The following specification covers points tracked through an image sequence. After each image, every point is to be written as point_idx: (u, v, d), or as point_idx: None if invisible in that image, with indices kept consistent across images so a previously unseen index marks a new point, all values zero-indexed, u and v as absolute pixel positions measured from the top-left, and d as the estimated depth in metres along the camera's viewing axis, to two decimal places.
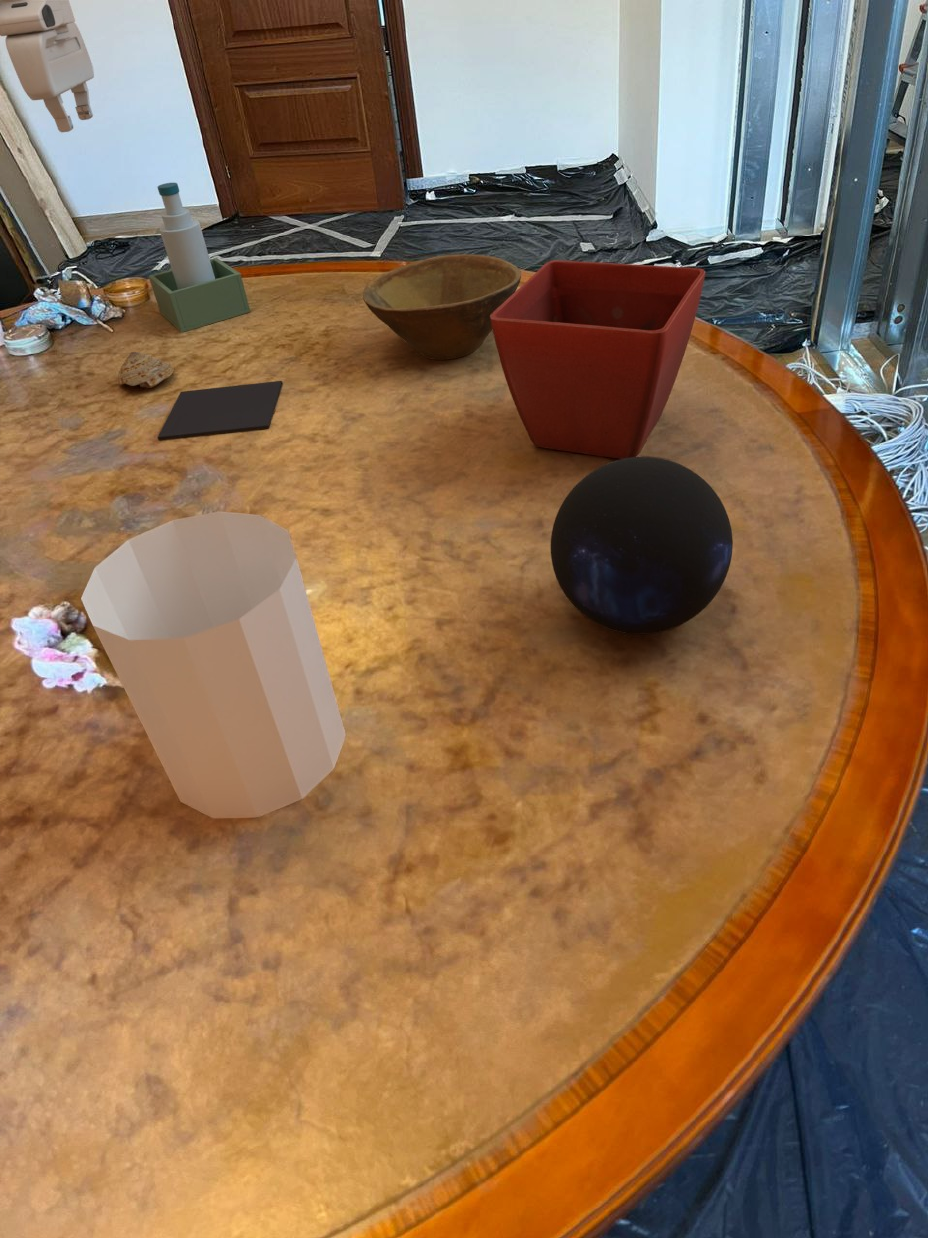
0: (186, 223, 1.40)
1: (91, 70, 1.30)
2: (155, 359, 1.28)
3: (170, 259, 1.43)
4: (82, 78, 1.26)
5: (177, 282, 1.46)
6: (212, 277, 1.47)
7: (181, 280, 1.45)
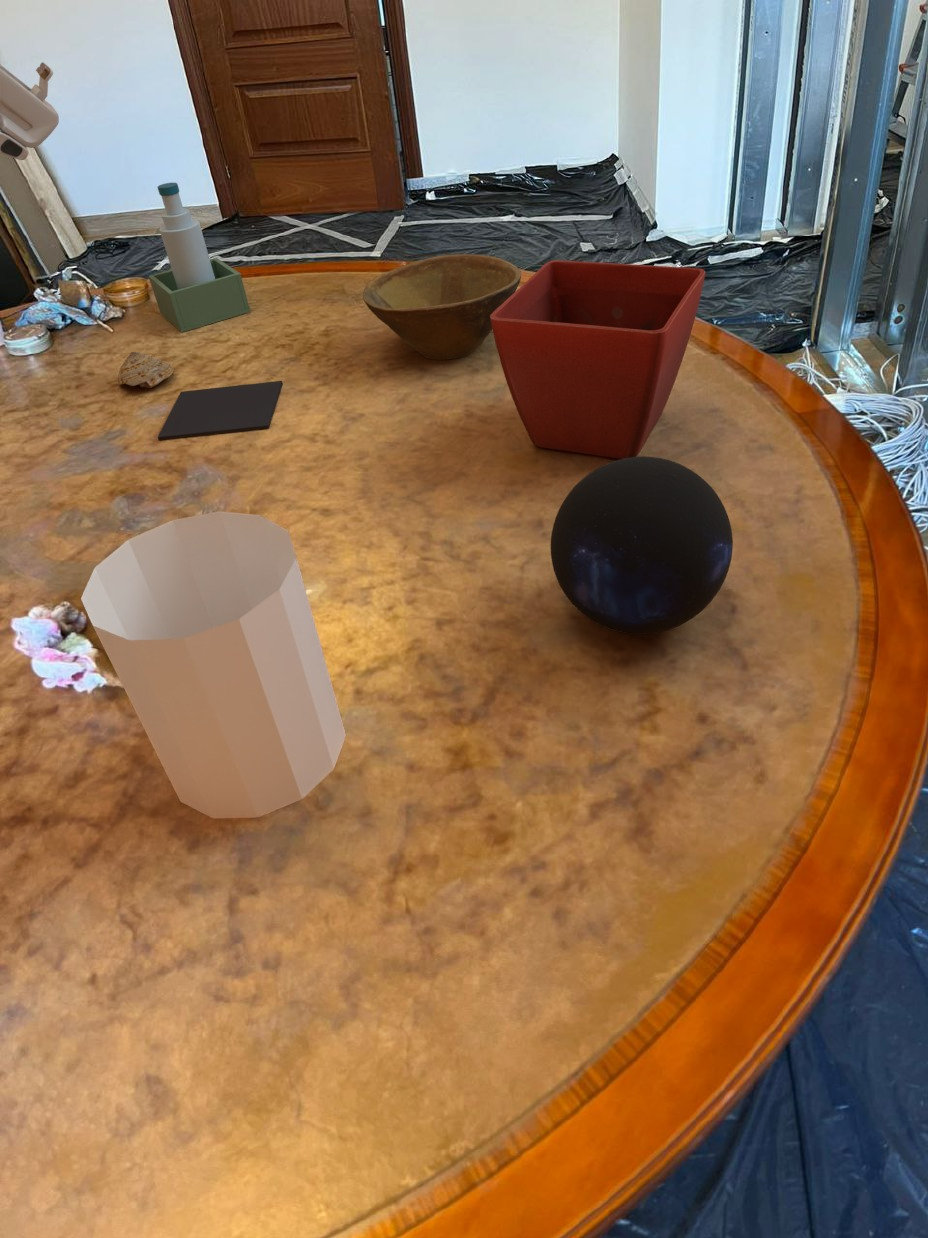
0: (186, 223, 1.40)
1: None
2: (155, 359, 1.28)
3: (170, 259, 1.43)
4: None
5: (177, 282, 1.46)
6: (212, 277, 1.47)
7: (181, 280, 1.45)
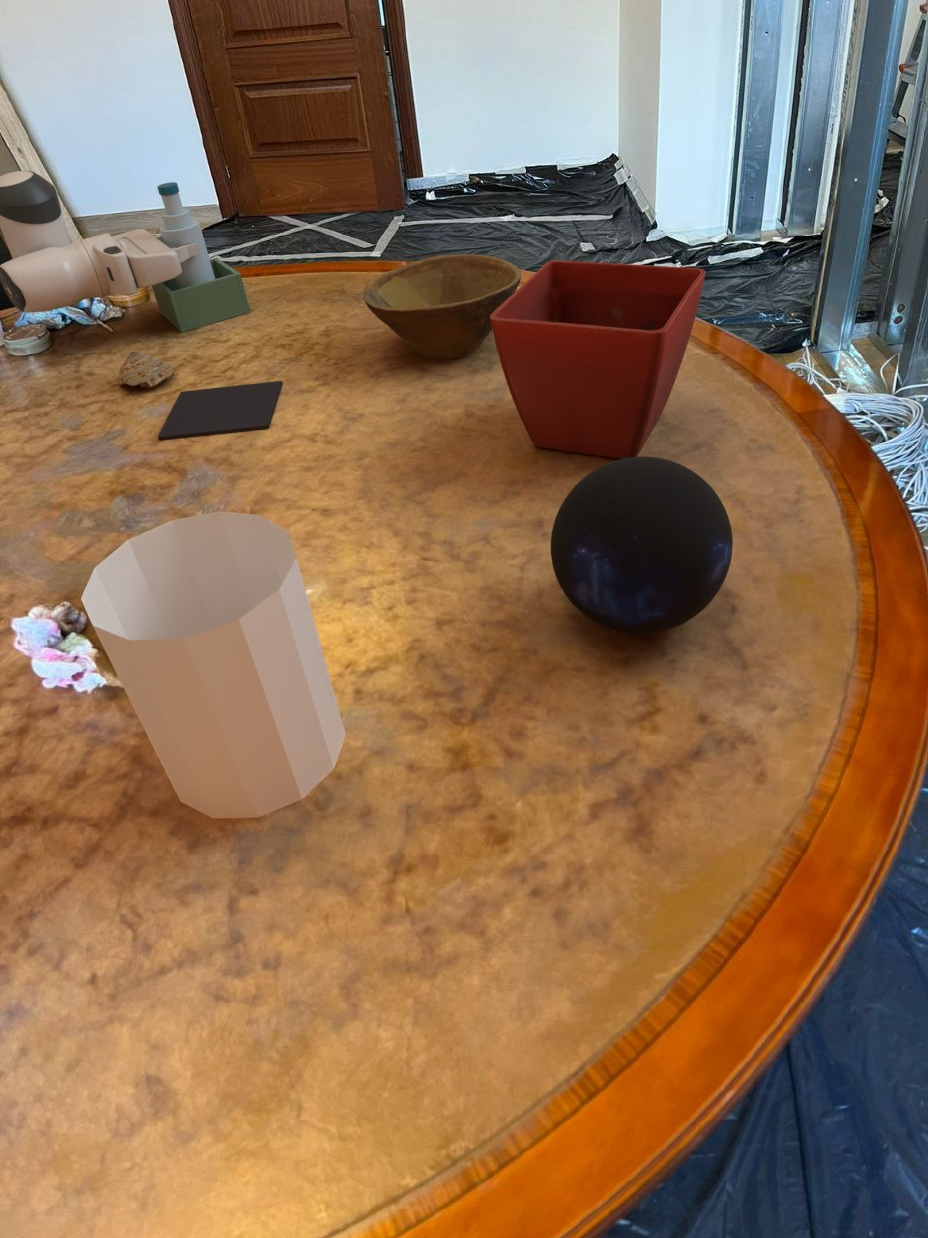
0: (186, 223, 1.40)
1: (140, 230, 1.47)
2: (155, 359, 1.28)
3: None
4: (150, 235, 1.44)
5: (177, 282, 1.46)
6: (212, 277, 1.47)
7: (181, 280, 1.45)
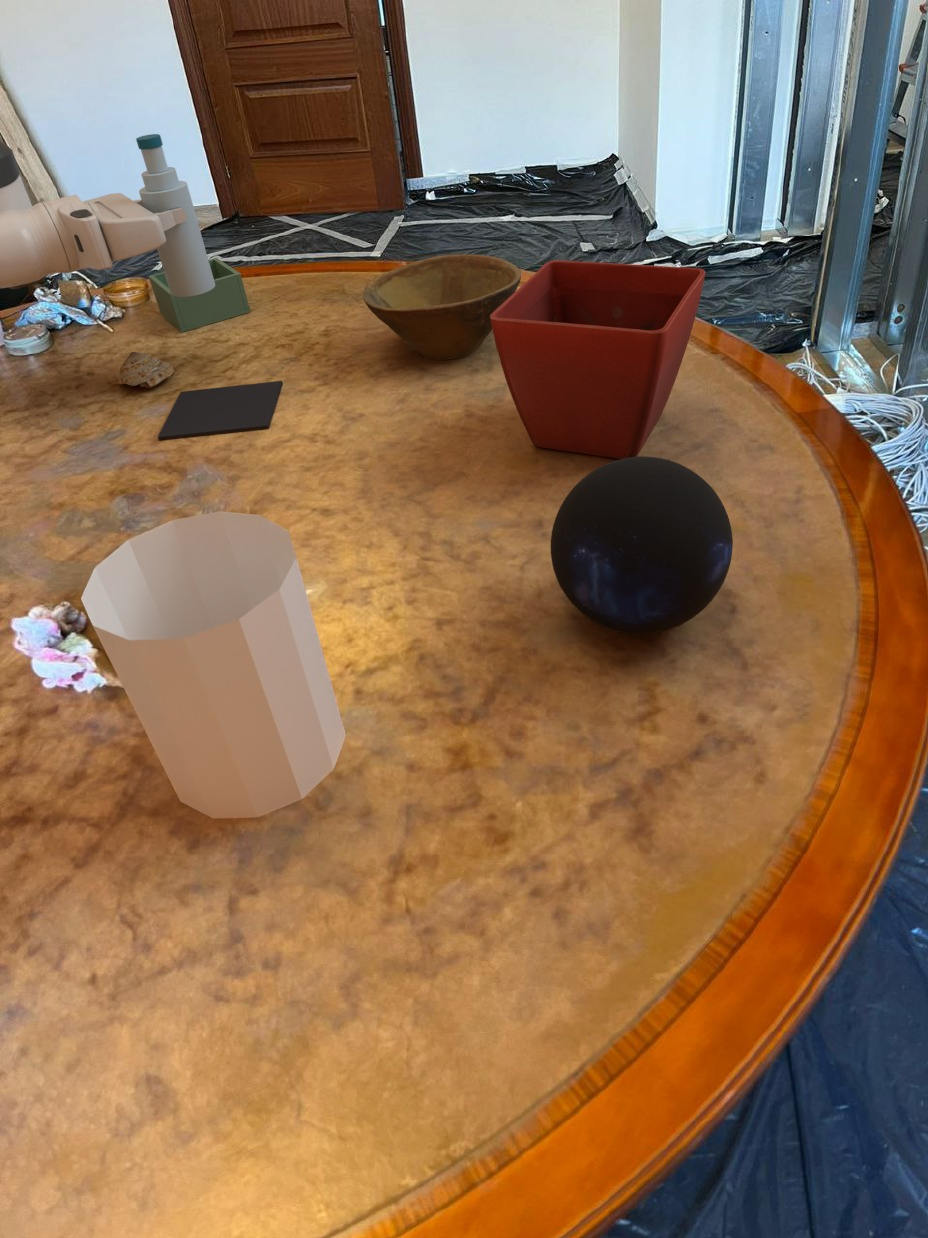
0: (171, 183, 1.17)
1: (116, 194, 1.23)
2: (155, 359, 1.28)
3: None
4: (128, 199, 1.20)
5: (161, 256, 1.22)
6: (203, 250, 1.23)
7: (166, 253, 1.21)
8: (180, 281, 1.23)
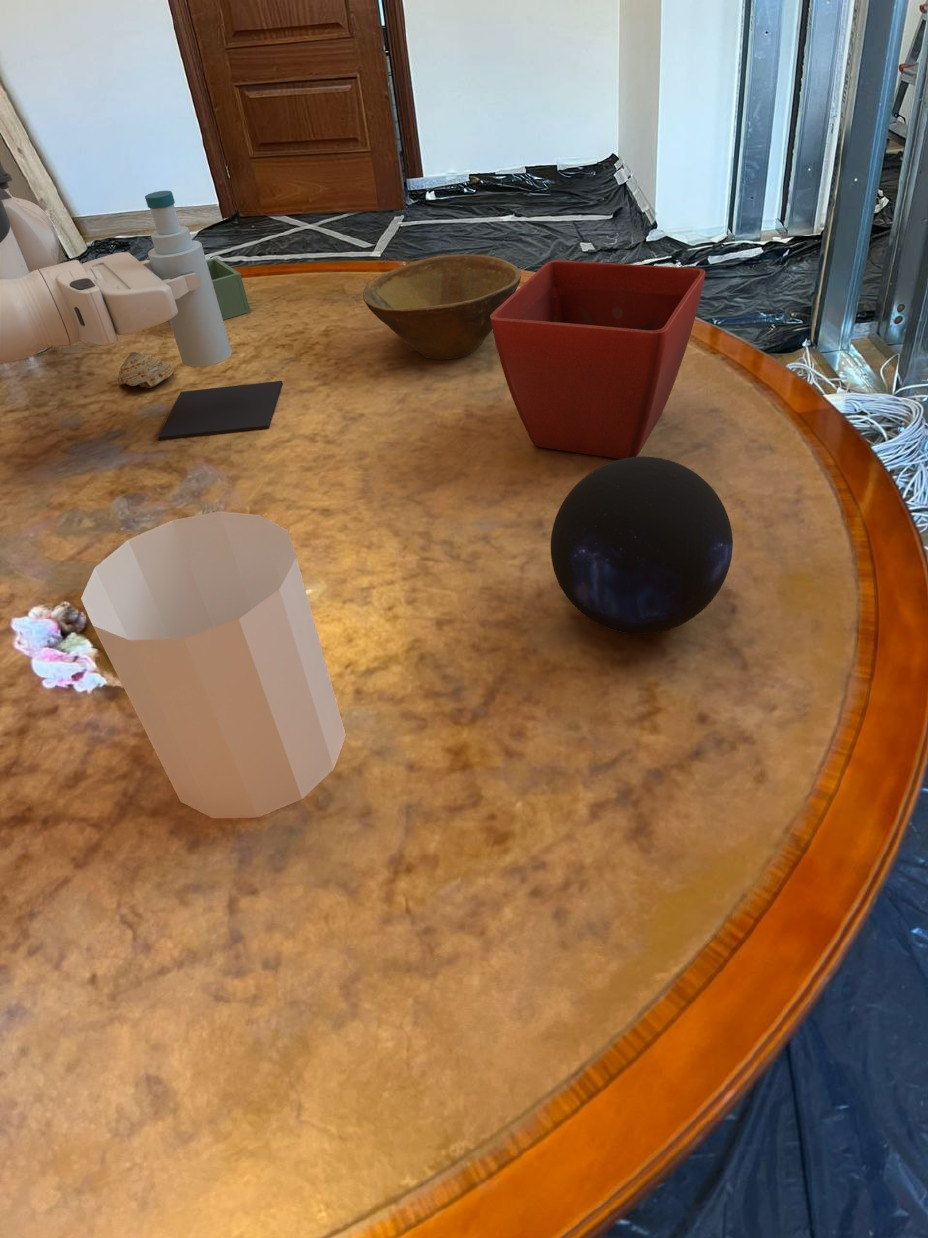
0: (184, 245, 1.04)
1: (122, 253, 1.10)
2: (155, 359, 1.28)
3: None
4: (136, 261, 1.07)
5: (172, 323, 1.09)
6: (218, 316, 1.10)
7: (177, 321, 1.08)
8: (193, 351, 1.11)
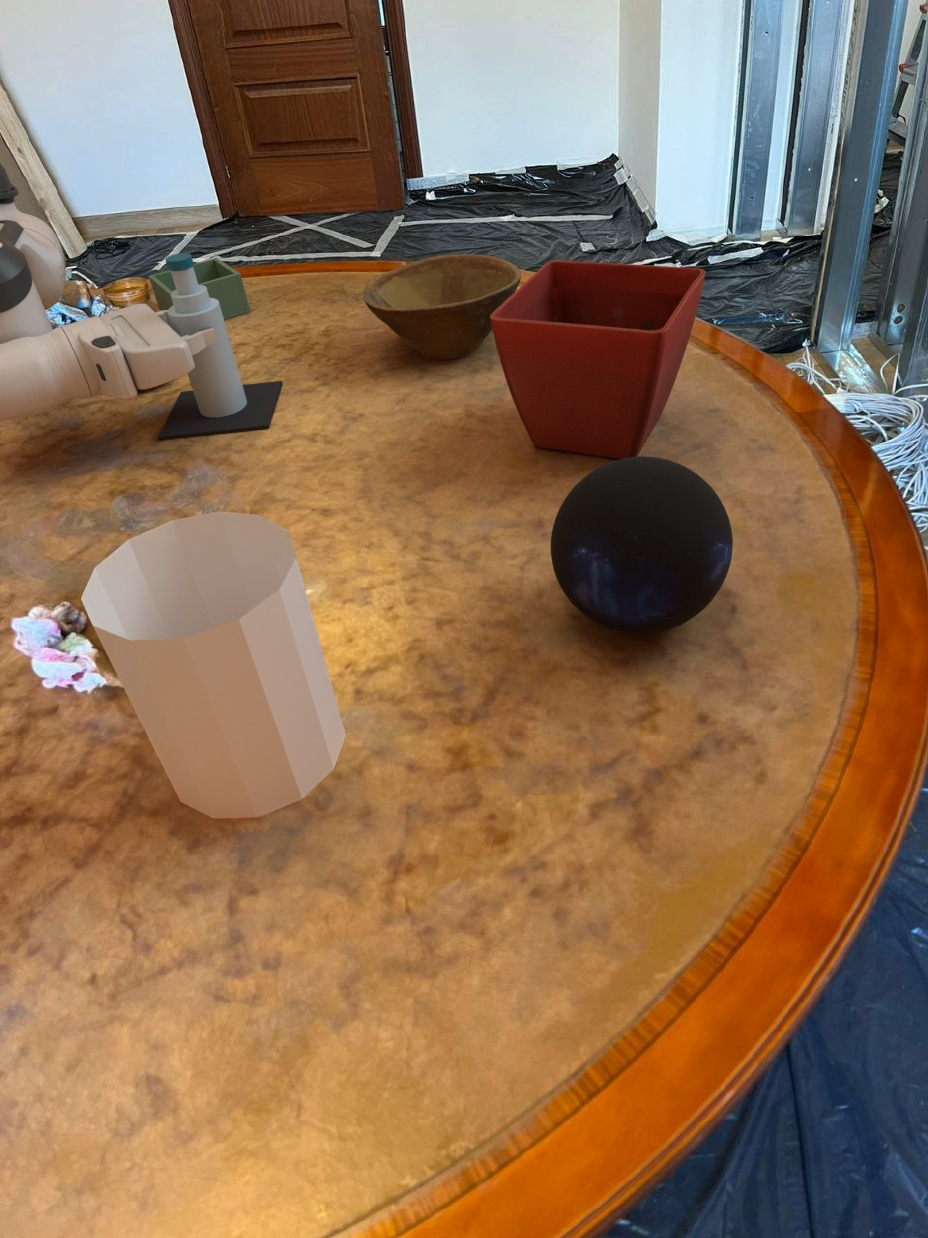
0: (202, 305, 1.09)
1: (140, 305, 1.15)
2: None
3: None
4: (153, 314, 1.11)
5: (190, 376, 1.14)
6: (234, 369, 1.15)
7: (195, 374, 1.13)
8: (210, 402, 1.15)
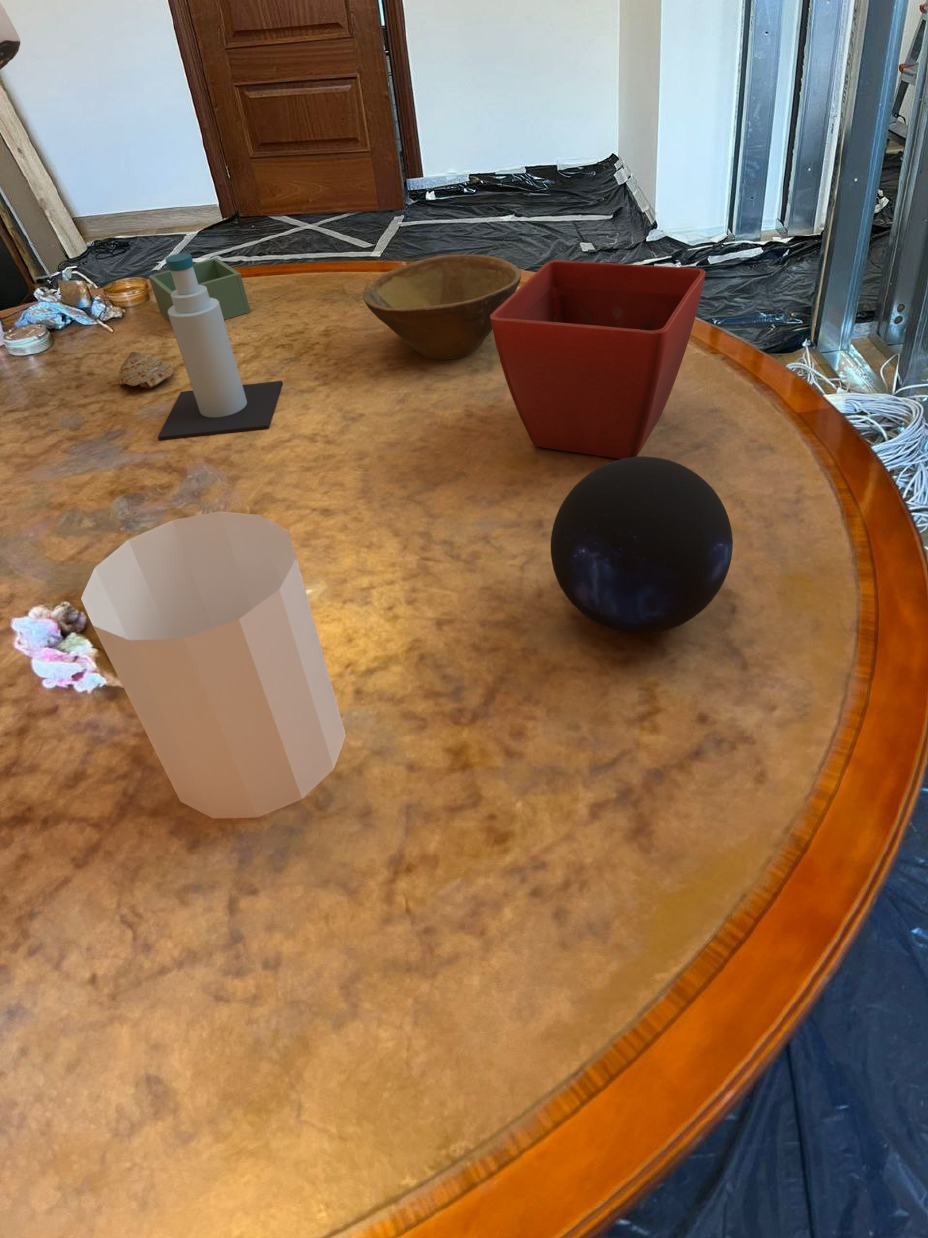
0: (202, 305, 1.09)
1: None
2: (155, 359, 1.28)
3: (181, 349, 1.12)
4: None
5: (190, 376, 1.14)
6: (234, 369, 1.15)
7: (195, 374, 1.13)
8: (210, 402, 1.15)
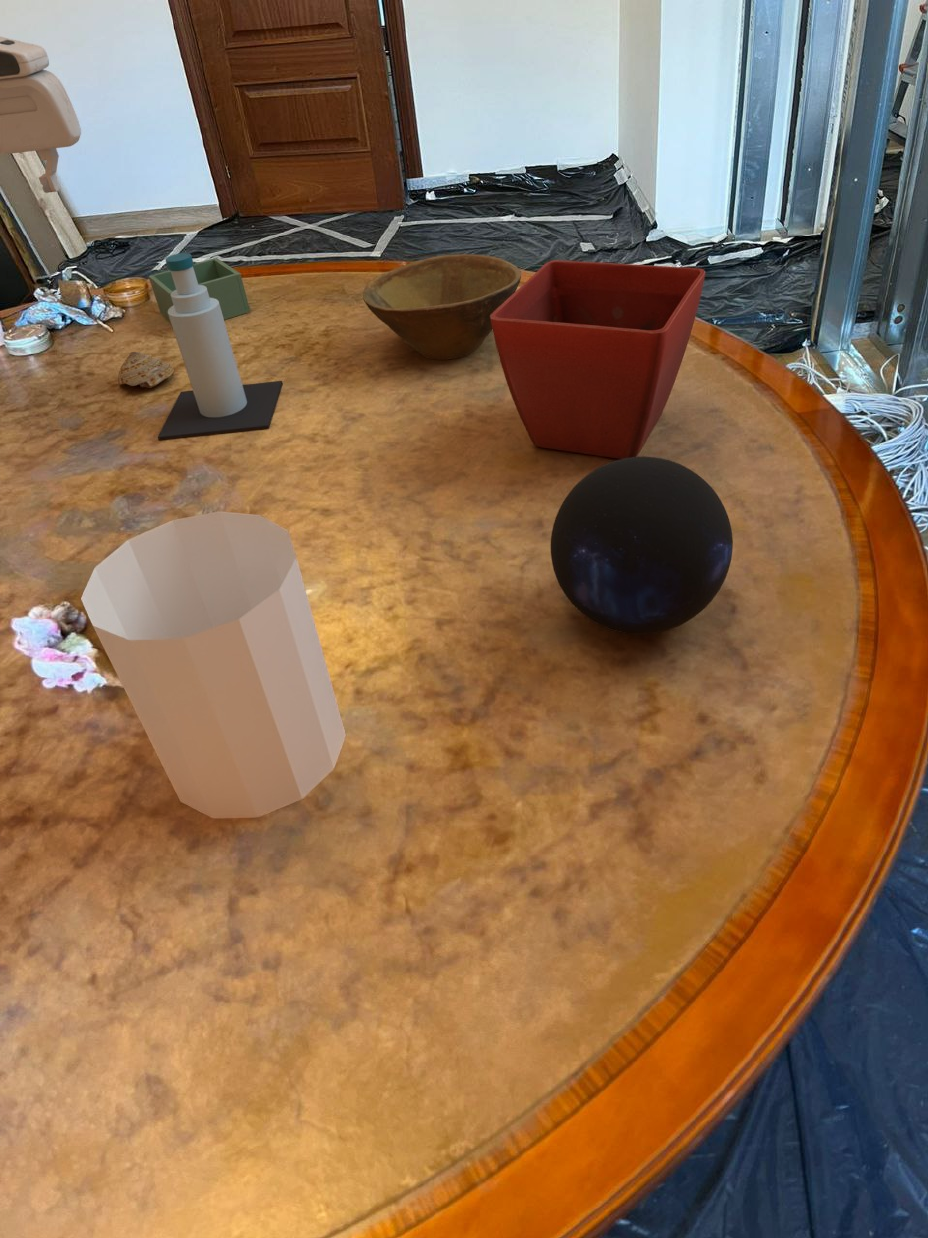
0: (202, 305, 1.09)
1: None
2: (155, 359, 1.28)
3: (181, 349, 1.12)
4: None
5: (190, 376, 1.14)
6: (234, 369, 1.15)
7: (195, 374, 1.13)
8: (210, 402, 1.15)
